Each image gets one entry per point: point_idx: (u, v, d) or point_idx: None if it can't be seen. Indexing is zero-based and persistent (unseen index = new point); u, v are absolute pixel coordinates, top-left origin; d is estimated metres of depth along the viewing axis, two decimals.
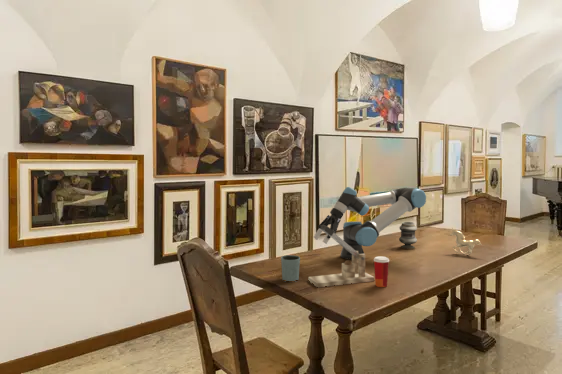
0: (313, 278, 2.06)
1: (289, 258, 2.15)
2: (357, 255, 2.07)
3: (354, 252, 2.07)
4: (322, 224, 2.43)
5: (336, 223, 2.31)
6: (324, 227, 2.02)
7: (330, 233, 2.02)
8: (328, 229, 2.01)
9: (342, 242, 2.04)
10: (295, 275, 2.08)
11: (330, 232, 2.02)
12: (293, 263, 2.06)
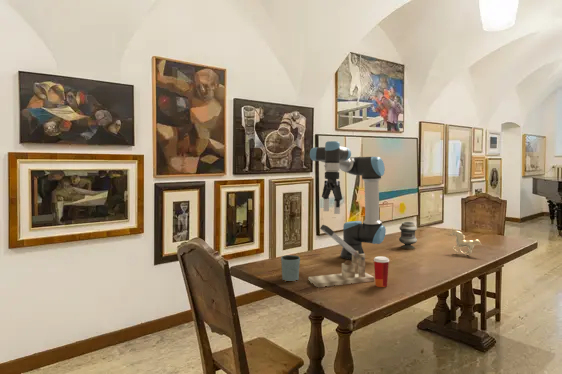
0: (313, 278, 2.06)
1: (289, 258, 2.15)
2: (357, 255, 2.07)
3: (354, 252, 2.07)
4: (324, 193, 2.12)
5: (337, 187, 1.99)
6: (324, 227, 2.02)
7: (330, 233, 2.02)
8: (328, 229, 2.01)
9: (342, 242, 2.04)
10: (295, 275, 2.08)
11: (330, 232, 2.02)
12: (293, 263, 2.06)
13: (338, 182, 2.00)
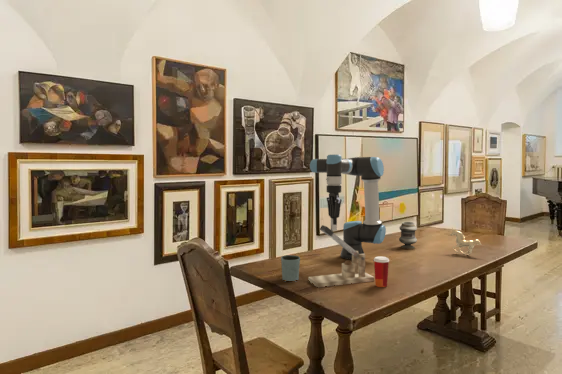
0: (313, 278, 2.06)
1: (289, 258, 2.15)
2: (357, 255, 2.07)
3: (354, 252, 2.07)
4: (330, 211, 2.06)
5: (337, 206, 1.99)
6: (324, 228, 2.02)
7: (330, 233, 2.02)
8: (328, 230, 2.01)
9: (342, 242, 2.04)
10: (295, 275, 2.08)
11: (330, 232, 2.02)
12: (293, 263, 2.06)
13: (340, 201, 1.99)
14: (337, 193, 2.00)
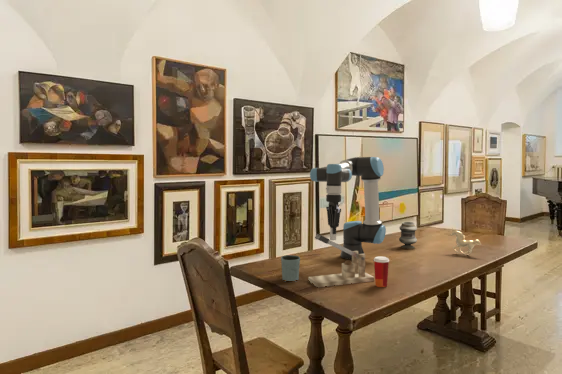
0: (313, 278, 2.06)
1: (289, 258, 2.15)
2: (357, 256, 2.07)
3: (353, 254, 2.07)
4: (329, 220, 2.06)
5: (337, 215, 2.00)
6: (318, 236, 2.02)
7: (325, 241, 2.01)
8: (323, 238, 2.00)
9: (339, 247, 2.04)
10: (295, 275, 2.08)
11: (325, 240, 2.01)
12: (293, 263, 2.06)
13: (339, 210, 1.99)
14: (337, 202, 2.01)
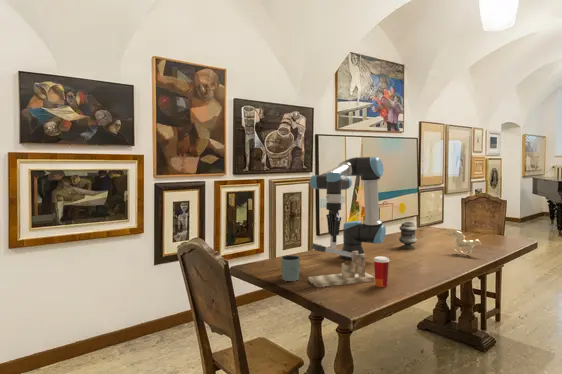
0: (313, 278, 2.06)
1: (289, 258, 2.15)
2: (356, 257, 2.07)
3: (352, 255, 2.07)
4: (330, 228, 2.06)
5: (337, 224, 2.00)
6: (315, 246, 2.01)
7: (323, 250, 2.01)
8: (319, 247, 2.00)
9: (337, 252, 2.04)
10: (295, 275, 2.08)
11: (322, 249, 2.01)
12: (293, 263, 2.06)
13: (339, 219, 1.99)
14: (337, 211, 2.01)
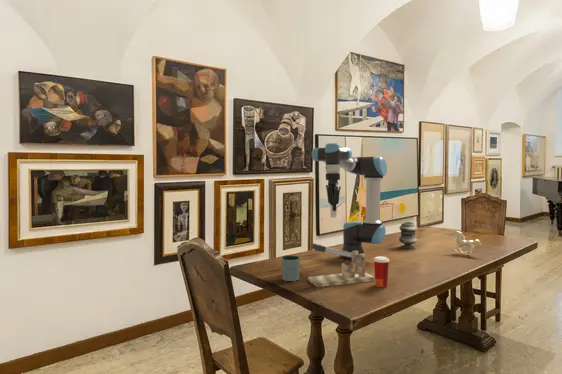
0: (313, 278, 2.06)
1: (289, 258, 2.15)
2: (356, 257, 2.07)
3: (352, 255, 2.07)
4: (329, 198, 2.13)
5: (336, 193, 2.07)
6: (315, 246, 2.01)
7: (323, 250, 2.01)
8: (319, 247, 2.00)
9: (337, 252, 2.04)
10: (295, 275, 2.08)
11: (322, 249, 2.01)
12: (293, 263, 2.06)
13: (339, 188, 2.06)
14: (336, 180, 2.08)
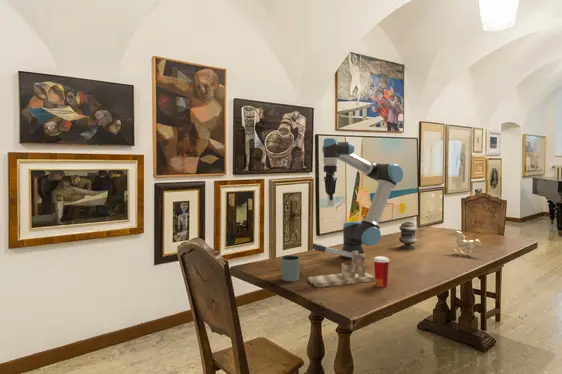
0: (313, 278, 2.06)
1: (289, 258, 2.15)
2: (356, 257, 2.07)
3: (352, 255, 2.07)
4: (327, 188, 2.33)
5: (333, 183, 2.27)
6: (315, 246, 2.01)
7: (323, 250, 2.01)
8: (319, 247, 2.00)
9: (337, 252, 2.04)
10: (295, 275, 2.08)
11: (322, 249, 2.01)
12: (293, 263, 2.06)
13: (335, 179, 2.26)
14: (333, 172, 2.28)
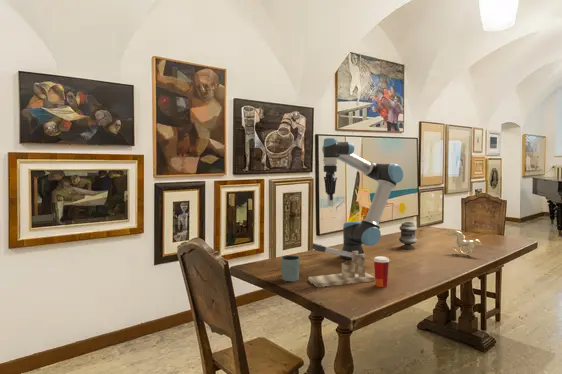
0: (313, 278, 2.06)
1: (289, 258, 2.15)
2: (356, 257, 2.07)
3: (352, 255, 2.07)
4: (327, 188, 2.33)
5: (333, 183, 2.27)
6: (315, 246, 2.01)
7: (323, 250, 2.01)
8: (319, 247, 2.00)
9: (337, 252, 2.04)
10: (295, 275, 2.08)
11: (322, 249, 2.01)
12: (293, 263, 2.06)
13: (335, 179, 2.26)
14: (333, 172, 2.28)
